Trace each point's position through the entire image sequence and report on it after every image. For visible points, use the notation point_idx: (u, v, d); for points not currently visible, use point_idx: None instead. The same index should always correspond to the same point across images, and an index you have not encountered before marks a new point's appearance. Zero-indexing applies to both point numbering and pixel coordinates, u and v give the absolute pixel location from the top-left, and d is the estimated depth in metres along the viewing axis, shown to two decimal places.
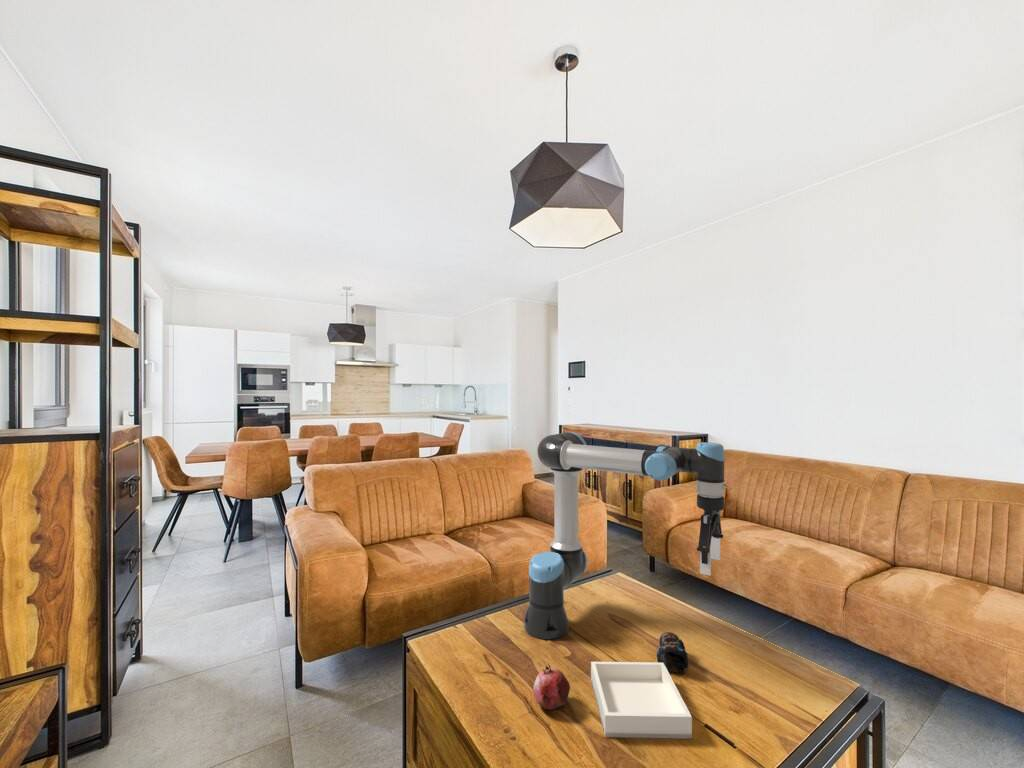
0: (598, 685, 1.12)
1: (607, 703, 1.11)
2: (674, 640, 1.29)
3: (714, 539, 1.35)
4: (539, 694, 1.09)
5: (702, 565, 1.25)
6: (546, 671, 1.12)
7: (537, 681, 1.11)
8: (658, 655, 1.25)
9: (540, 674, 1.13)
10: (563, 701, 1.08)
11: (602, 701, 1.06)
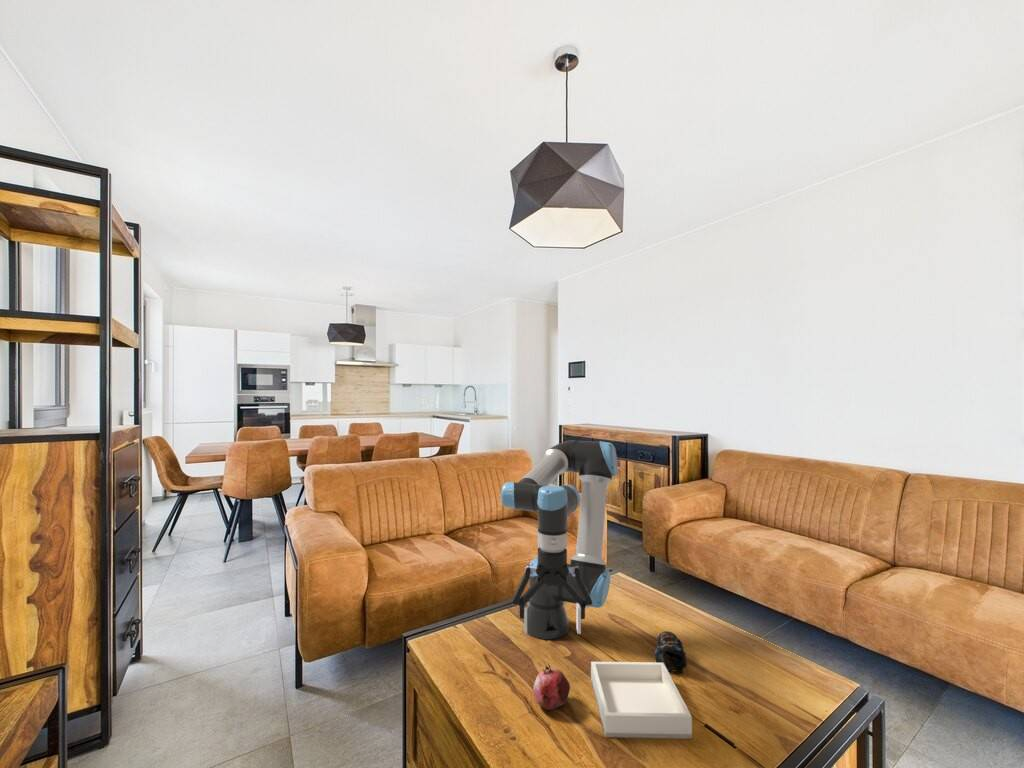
0: (598, 685, 1.12)
1: (607, 703, 1.11)
2: (672, 639, 1.30)
3: (577, 606, 1.12)
4: (539, 694, 1.09)
5: None
6: (546, 671, 1.12)
7: (537, 681, 1.11)
8: (656, 654, 1.25)
9: (540, 674, 1.13)
10: (563, 701, 1.08)
11: (602, 701, 1.06)
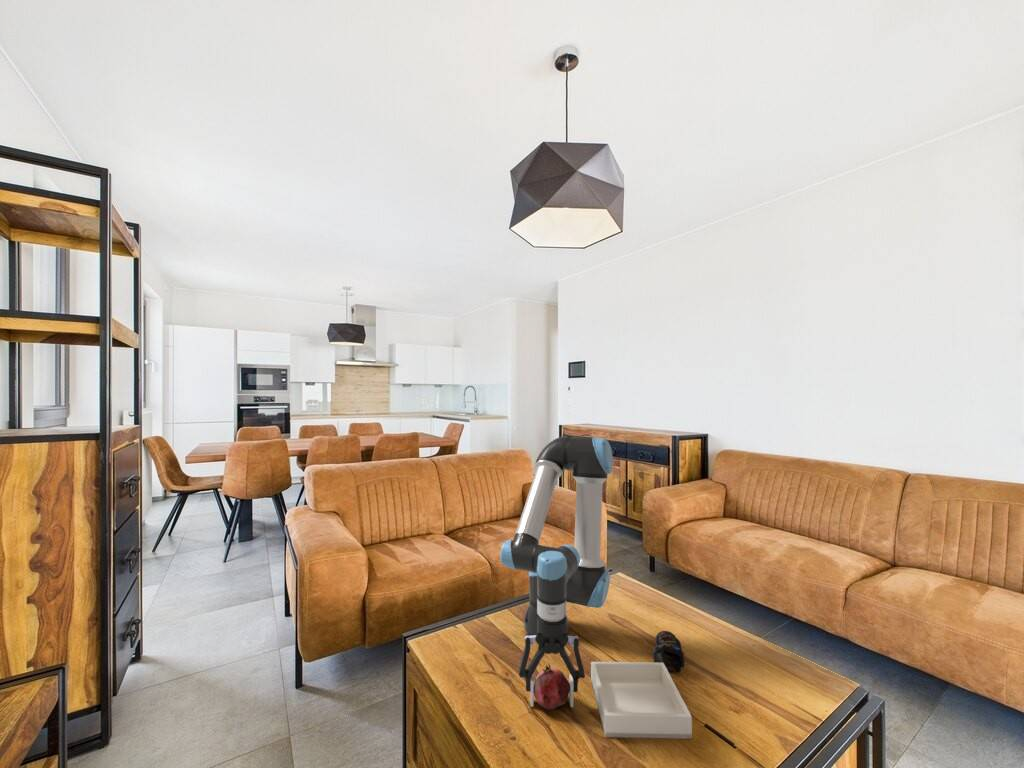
0: (598, 685, 1.12)
1: (607, 703, 1.11)
2: (671, 639, 1.30)
3: (569, 678, 1.12)
4: (539, 694, 1.09)
5: None
6: (546, 671, 1.12)
7: (537, 681, 1.11)
8: (654, 654, 1.26)
9: (540, 674, 1.13)
10: (563, 701, 1.08)
11: (602, 701, 1.06)
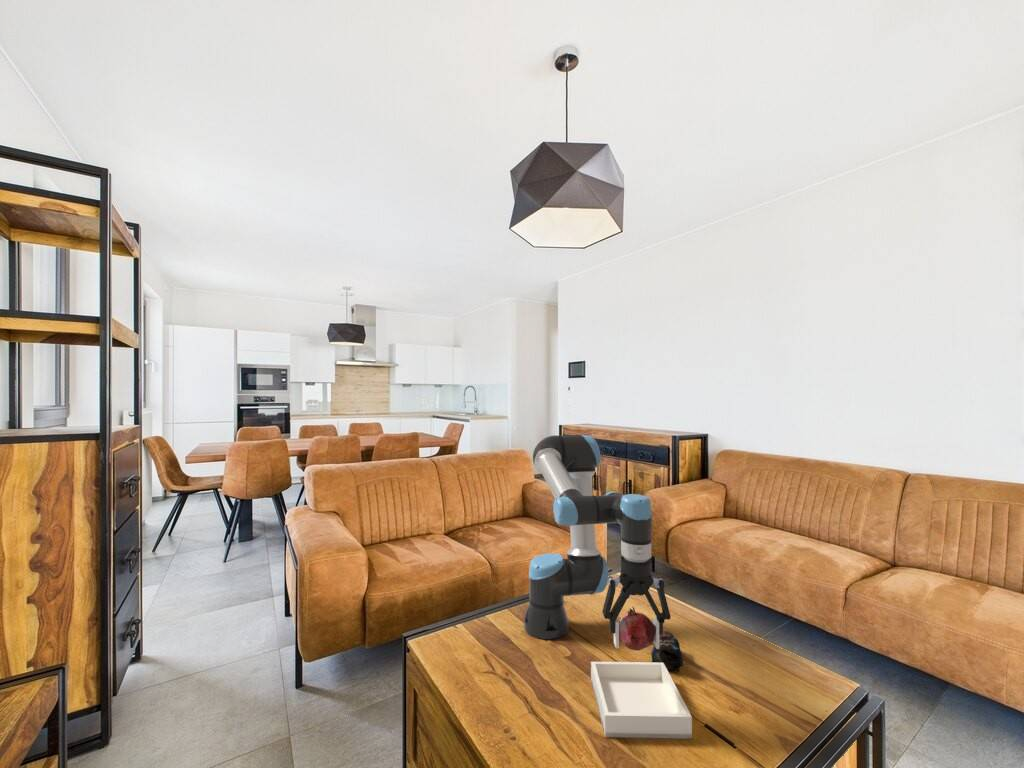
0: (598, 685, 1.12)
1: (607, 703, 1.11)
2: (669, 638, 1.30)
3: (654, 621, 1.11)
4: (626, 635, 1.08)
5: (614, 634, 1.12)
6: (631, 613, 1.11)
7: (623, 623, 1.10)
8: (653, 653, 1.26)
9: (624, 617, 1.12)
10: (651, 641, 1.07)
11: (602, 701, 1.06)
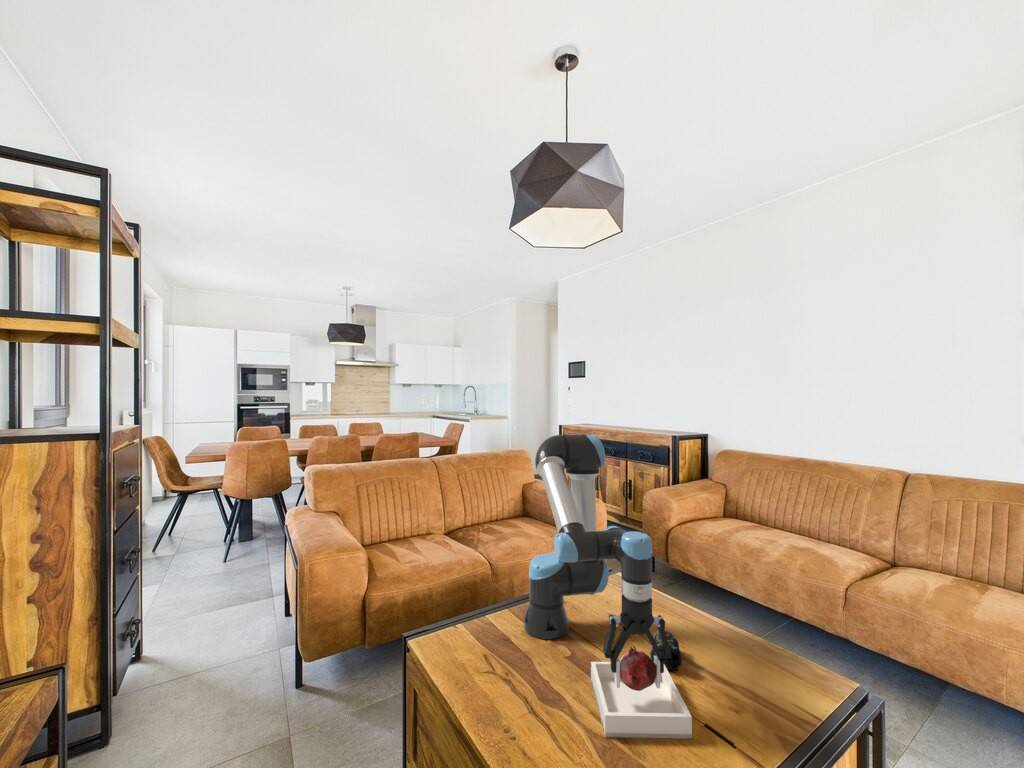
0: (598, 685, 1.12)
1: (607, 703, 1.11)
2: (668, 638, 1.30)
3: (655, 659, 1.11)
4: (627, 675, 1.08)
5: (615, 673, 1.12)
6: (632, 652, 1.11)
7: (624, 662, 1.10)
8: (652, 653, 1.26)
9: (625, 655, 1.12)
10: (652, 682, 1.07)
11: (602, 701, 1.06)
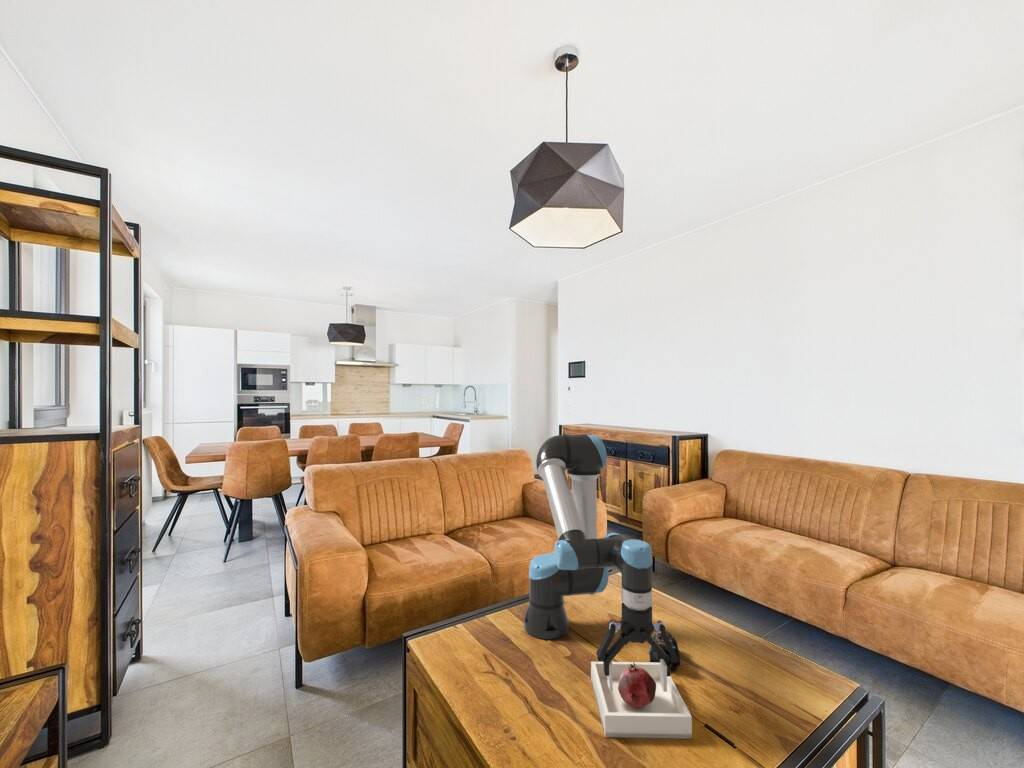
0: (598, 685, 1.12)
1: (607, 703, 1.11)
2: None
3: (661, 663, 1.11)
4: (627, 692, 1.08)
5: (608, 676, 1.12)
6: (631, 669, 1.11)
7: (623, 679, 1.10)
8: (650, 652, 1.26)
9: (625, 672, 1.12)
10: (651, 699, 1.07)
11: (602, 701, 1.06)
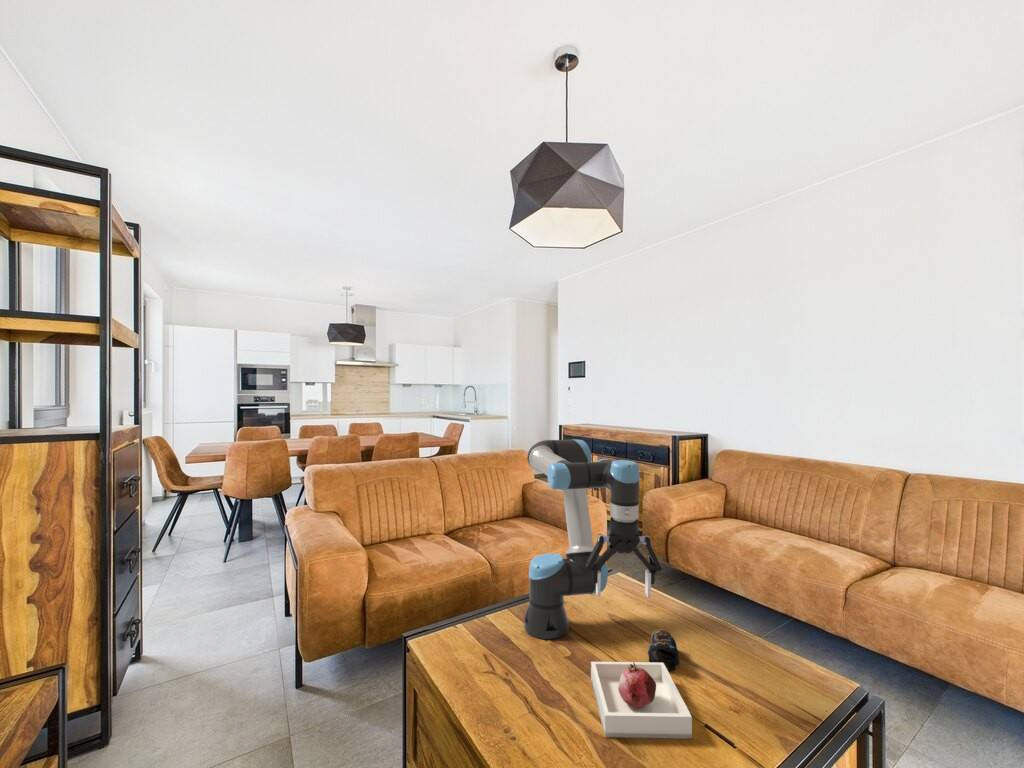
0: (598, 685, 1.12)
1: (607, 703, 1.11)
2: (666, 637, 1.31)
3: (646, 572, 1.20)
4: (627, 692, 1.08)
5: (596, 584, 1.20)
6: (632, 669, 1.11)
7: (623, 679, 1.10)
8: (649, 652, 1.27)
9: (625, 672, 1.12)
10: (651, 699, 1.07)
11: (602, 701, 1.06)
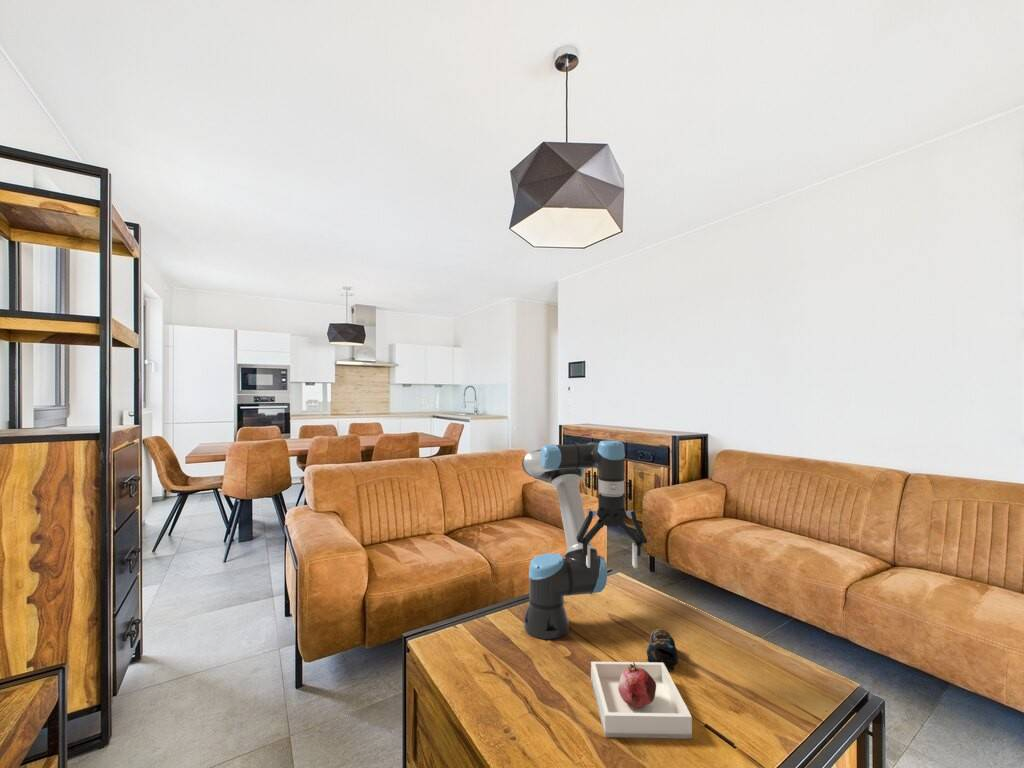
0: (598, 685, 1.12)
1: (607, 703, 1.11)
2: (665, 637, 1.31)
3: (633, 545, 1.28)
4: (627, 692, 1.08)
5: (586, 557, 1.29)
6: (631, 669, 1.11)
7: (623, 679, 1.10)
8: (648, 651, 1.27)
9: (625, 672, 1.12)
10: (651, 699, 1.07)
11: (602, 701, 1.06)
